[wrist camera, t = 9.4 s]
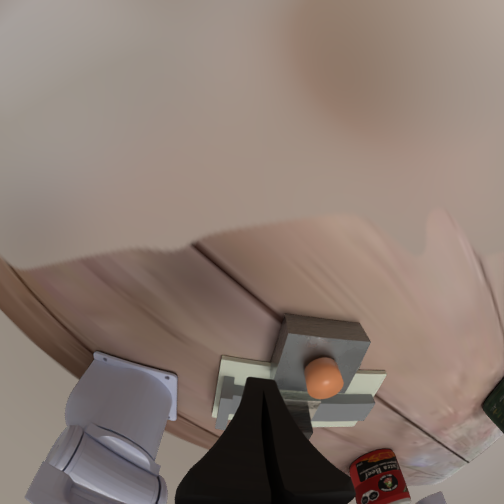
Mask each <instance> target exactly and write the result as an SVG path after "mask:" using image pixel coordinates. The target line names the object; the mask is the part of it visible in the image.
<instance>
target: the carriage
mask: <svg viewBox="0 0 504 504" xmlns="http://www.w3.org/2000/svg"><path fill="white" fill-rule="evenodd" d="M279 391H280V393H281V395H282V398H283V400H284V402H285V404H286V406H287V408H288V410H289V411H290V413H291V415H292V417H293V418H294V420H295V422H296V423H297V425H298V426H299V428H300V429H301V431H302V432H303V434H304V435H305V436H306V437H307V439H308V440H309V438H310V437H311V435H312V434H313V429H312V424H311V420H312V418H313V416H314V414H315V412H316V411H317V409H318V407H319V405H320V403H321V399H315V398H313V397H311V396H310V395H309V394H308V392H303V391H291V390H280V389H279Z"/></svg>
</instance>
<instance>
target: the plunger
mask: <svg viewBox="0 0 504 504" xmlns="http://www.w3.org/2000/svg"><path fill="white" fill-rule="evenodd" d="M304 376H305V381H306V386H307V391H308V394H309V395H310V396H311V397H313V398H315V399H327V398H330V397H332V396H334V395H336V394H337V393H339V392H340V390H341V389H342V387H343V384H344V382H343V379H342V376H341V373H340V370H339V368H338V365H337V363H336V361H335V360H333V359H331V358H318V359H315V360H313V361H312V362H310V363H309V364H308V365H307V366H306V368H305V370H304Z"/></svg>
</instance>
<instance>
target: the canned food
mask: <svg viewBox="0 0 504 504" xmlns="http://www.w3.org/2000/svg"><path fill="white" fill-rule="evenodd" d="M350 476H351V480H352V482H353V485H354V488H355V492H356V496H355V498H356V503H357V504H410V503H411V498H410V495H409V491H408V488H407V486H406V483H405V480H404V477H403V475H402V472H401V469H400V467H399V464H398V461H397V459H396V456H395V454H394V453H393V452H392V451H391V450H390V449H380V450H376V451H373V452H370V453H368V454H365V455H363V456H362V457H360V458H358V459H357V460H356V461H354V462H353V463H352V465H351V466H350Z"/></svg>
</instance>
